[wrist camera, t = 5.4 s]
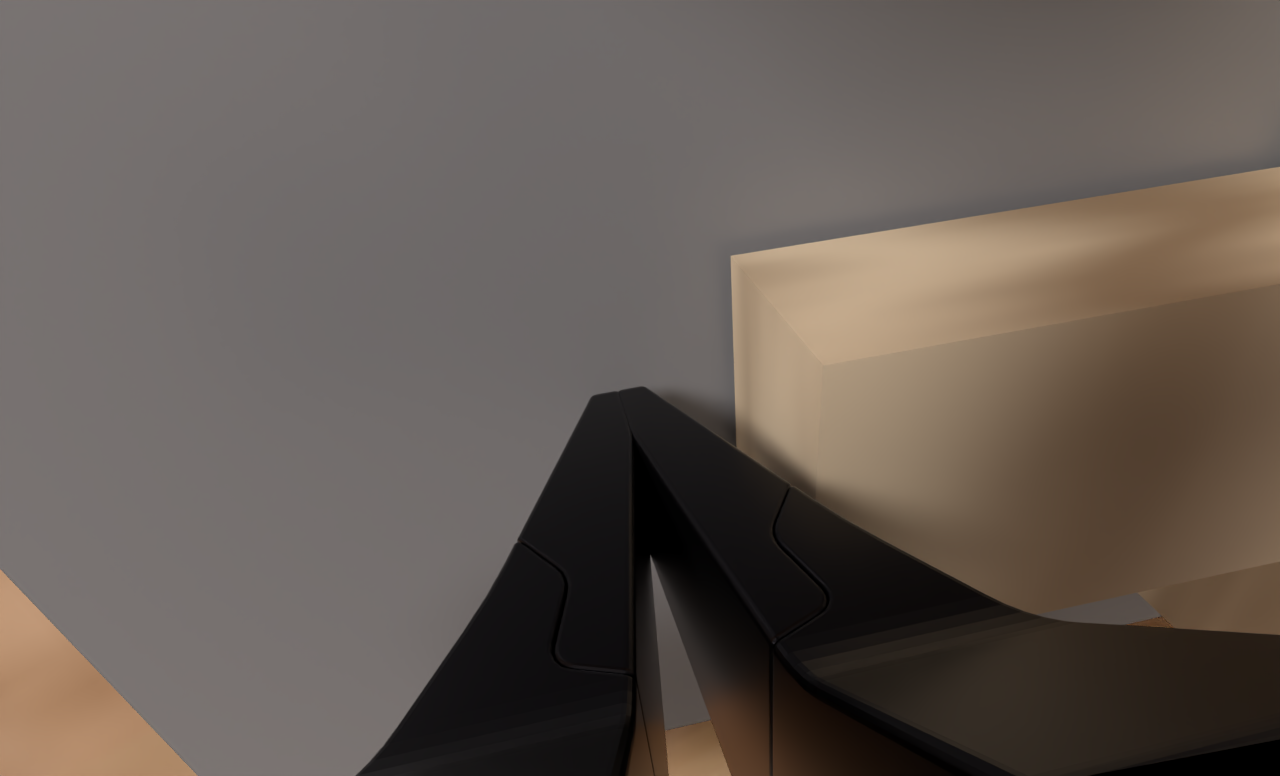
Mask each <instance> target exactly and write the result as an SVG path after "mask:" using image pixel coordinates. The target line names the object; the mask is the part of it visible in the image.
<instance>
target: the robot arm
mask: <svg viewBox="0 0 1280 776" xmlns="http://www.w3.org/2000/svg"><path fill="white" fill-rule="evenodd" d="M650 555H651V558H652V561H653V563H654V566H655V569H656V571H657V574H658V577H659V580H660V582H661V585H662V588H663V591H664V593H665V596H666V599H667V601H668V604H669V607H670V610H671V612H672V615H673V618H674V620H675V623H676V626H677V629H678V631H679V634H680V637H681V640H682V642H683V645H684V648H685V650H686V653H687V656H688V659H689V661H690V664H691V667H692V669H693V672H694V675H695V678H696V680H697V683H698V686H699V689H700V691H701V694H702V697H703V699H704V702H705V705H706V708H707V710H708V713H709V716H710V718H711V721H712V724H713V727H714V729H715V732H716V735H717V738H718V740H719V743H720V746H721V748H722V751H723V754H724V757H725V759H726V762H727V765H728V767H729V770H730V773H731V776H1280V635H1277V634H1261V633H1245V632H1228V631H1212V630H1196V629H1180V628H1163V627H1147V626H1131V625H1114V624H1098V623H1082V622H1071V621H1063V620H1057V619H1052V618H1047V617H1042V616H1039V615H1035V614H1032V613H1029V612H1025V611H1023V610H1020V609H1018V608H1015V607H1013V606H1010V605H1007V604H1005V603H1003V602H1001V601H999V600H997V599H995V598H993V597H991V596H988V595H986V594H984V593H983V592H981V591H979V590H977V589H975V588H973V587H971V586H969V585H967V584H966V583H964V582H962V581H960V580H958V579H956V578H954V577H952V576H950V575H948V574H947V573H945V572H943V571H941V570H939V569H937V568H935V567H933V566H931V565H929V564H928V563H926V562H924V561H922V560H920V559H918V558H916V557H914V556H912V555H910V554H909V553H907V552H905V551H903V550H901V549H899V548H897V547H895V546H893V545H891V544H890V543H888V542H886V541H884V540H882V539H880V538H879V537H877V536H875V535H873V534H871V533H870V532H868V531H866V530H864V529H862V528H861V527H859V526H857V525H855V524H853V523H852V522H850V521H848V520H846V519H845V518H843V517H842V516H840V515H838V514H837V513H835V512H834V511H832V510H830V509H829V508H827V507H826V506H824V505H822V504H821V503H819V502H818V501H816V500H814V499H813V498H811V497H810V496H808V495H807V494H805V493H804V492H803V491H801V490H800V489H798V488H797V487H795V486H792V487H791V484H790V483H789V482H787V481H786V480H784V479H783V478H781V477H780V476H778V475H777V474H775V473H774V472H772V471H771V470H769V469H768V468H766V467H765V466H763V465H762V464H760V463H759V462H757V461H756V460H754V459H753V458H751V457H750V456H748V455H747V454H745V453H744V452H742V451H741V450H739V449H738V448H736V447H735V446H733V445H732V444H730V443H729V442H727V441H726V440H724V439H723V438H721V437H720V436H718V435H717V434H715V433H714V432H712V431H711V430H709V429H708V428H706V427H705V426H703V425H702V424H700V423H699V422H697V421H696V420H694V419H693V418H691V417H690V416H688V415H687V414H685V413H684V412H682V411H681V410H679V409H678V408H677V407H675V406H674V405H672V404H671V403H669V402H668V401H666V400H665V399H663V398H662V397H660V396H659V395H657V394H656V393H654V392H653V391H651V390H650V389H648V388H647V387H644V386H639V387H634V388H628V389H623V390H620V391H612V392H607V393H601V394H596V395H593V396H592V397H591V398H590V400H589V402H588V404H587V406H586V407H585V409H584V411H583V413H582V415H581V417H580V419H579V421H578V423H577V425H576V427H575V429H574V431H573V433H572V435H571V436H570V438H569V440H568V442H567V444H566V446H565V448H564V450H563V452H562V454H561V456H560V458H559V460H558V462H557V464H556V465H555V467H554V469H553V471H552V473H551V475H550V477H549V479H548V481H547V483H546V485H545V487H544V489H543V491H542V493H541V494H540V496H539V498H538V500H537V502H536V504H535V506H534V508H533V510H532V512H531V514H530V516H529V518H528V520H527V522H526V523H525V525H524V527H523V529H522V531H521V533H520V535H519V537H518V539H517V543H515V544H514V546H513V548H512V550H511V552H510V554H509V556H508V558H507V560H506V562H505V564H504V565H503V567H502V569H501V571H500V573H499V574H498V576H497V578H496V580H495V581H494V583H493V585H492V587H491V589H490V590H489V592H488V594H487V596H486V597H485V599H484V600H483V602H482V603H481V605H480V606H479V608H478V609H477V611H476V612H475V614H474V615H473V617H472V619H471V620H470V622H469V623H468V625H467V626H466V628H465V629H464V631H463V632H462V634H461V635H460V637H459V638H458V640H457V641H456V643H455V644H454V645H453V647H452V648H451V650H450V651H449V653H448V654H447V656H446V657H445V658H444V660H443V661H442V663H441V664H440V666H439V667H438V669H437V670H436V671H435V673H434V674H433V676H432V677H431V679H430V680H429V682H428V683H427V684H426V686H425V687H424V689H423V690H422V692H421V693H420V695H419V696H418V697H417V699H416V700H415V702H414V703H413V705H412V706H411V708H410V709H409V710H408V712H407V713H406V715H405V716H404V718H403V719H402V721H401V722H400V723H399V725H398V726H397V728H396V729H395V730H394V732H393V733H392V734H391V736H390V737H389V738H388V740H387V741H386V743H385V744H384V745H383V746H382V748H381V749H380V750H379V751H378V752H377V753H376V755H375V756H374V757H373V758H372V759H371V760H370V761H369V763H368V764H367V765H366V766H365V767H364V768H363V769H362V770H361V771H360V772H358V773H357V774H356V775H355V776H669V774H668V762H667V750H666V738H665V726H664V714H663V702H662V690H661V678H660V666H659V654H658V642H657V630H656V618H655V606H654V594H653V582H652V570H651V558H650Z"/></svg>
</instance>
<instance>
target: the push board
mask: <svg viewBox="0 0 1280 776" xmlns="http://www.w3.org/2000/svg"><path fill="white" fill-rule="evenodd" d="M1276 167H1280V0H0V569H1V570H2V571H3V572H4V573H5V574H6V575H7V577H8V578H9V579H10V580H11V581H12V582H13V583H14V584H15V585H16V586H17V587H18V588H19V589H20V590H21V591H22V592H23V593H24V594H25V595H26V596H27V597H28V598H29V600H30V601H31V602H32V603H33V604H34V605H35V606H36V607H37V608H38V609H39V610H40V611H41V612H42V613H43V614H44V615H45V616H46V617H47V618H48V619H49V620H50V622H51V623H52V624H53V625H54V626H55V627H56V628H57V629H58V630H59V631H60V632H61V633H62V634H63V635H64V636H65V637H66V638H67V639H68V640H69V641H70V642H71V643H72V645H73V646H74V647H75V648H76V649H77V650H78V651H79V652H80V653H81V654H82V655H83V656H84V657H85V658H86V659H87V660H88V661H89V662H90V663H91V664H92V665H93V666H94V668H95V669H96V670H97V671H98V672H99V673H100V674H101V675H102V676H103V677H104V678H105V679H106V680H107V681H108V682H109V683H110V684H111V685H112V686H113V687H114V688H115V690H116V691H117V692H118V693H119V694H120V695H121V696H122V697H123V698H124V699H125V700H126V701H127V702H128V703H129V704H130V705H131V706H132V707H133V708H134V709H135V710H136V711H137V713H138V714H139V715H140V716H141V717H142V718H143V719H144V720H145V721H146V722H147V723H148V724H149V725H150V726H151V727H152V728H153V729H154V730H155V731H156V732H157V733H158V735H159V736H160V737H161V738H162V739H163V740H164V741H165V742H166V743H167V744H168V745H169V746H170V747H171V748H172V749H173V750H174V751H175V752H176V753H177V754H178V755H179V756H180V758H181V759H182V760H183V761H184V762H185V763H186V764H187V765H188V766H189V767H190V768H191V769H192V770H193V771H194V772H195V773H196V774H197V775H198V776H355V775H356V774H357V773H358V772H360V771H361V770H362V769H363V768H364V767H365V766H366V765H367V764H368V763H369V761H370V760H371V759H372V758H373V757H374V756H375V755H376V753H377V752H378V751H379V750H380V749H381V748H382V746H383V745H384V744H385V743H386V741H387V740H388V738H389V737H390V736H391V734H392V733H393V732H394V730H395V729H396V728H397V726H398V725H399V723H400V722H401V721H402V719H403V718H404V716H405V715H406V713H407V712H408V710H409V709H410V708H411V706H412V705H413V703H414V702H415V700H416V699H417V697H418V696H419V695H420V693H421V692H422V690H423V689H424V687H425V686H426V684H427V683H428V682H429V680H430V679H431V677H432V676H433V674H434V673H435V671H436V670H437V669H438V667H439V666H440V664H441V663H442V661H443V660H444V658H445V657H446V656H447V654H448V653H449V651H450V650H451V648H452V647H453V645H454V644H455V643H456V641H457V640H458V638H459V637H460V635H461V634H462V632H463V631H464V629H465V628H466V626H467V625H468V623H469V622H470V620H471V619H472V617H473V615H474V614H475V612H476V611H477V609H478V608H479V606H480V605H481V603H482V602H483V600H484V599H485V597H486V596H487V594H488V592H489V590H490V589H491V587H492V585H493V583H494V581H495V580H496V578H497V576H498V574H499V573H500V571H501V569H502V567H503V565H504V564H505V562H506V560H507V558H508V556H509V554H510V552H511V550H512V548H513V546H514V544H515V543H517V539H518V537H519V535H520V533H521V531H522V529H523V527H524V525H525V523H526V522H527V520H528V518H529V516H530V514H531V512H532V510H533V508H534V506H535V504H536V502H537V500H538V498H539V496H540V494H541V493H542V491H543V489H544V487H545V485H546V483H547V481H548V479H549V477H550V475H551V473H552V471H553V469H554V467H555V465H556V464H557V462H558V460H559V458H560V456H561V454H562V452H563V450H564V448H565V446H566V444H567V442H568V440H569V438H570V436H571V435H572V433H573V431H574V429H575V427H576V425H577V423H578V421H579V419H580V417H581V415H582V413H583V411H584V409H585V407H586V406H587V404H588V402H589V400H590V398H591V397H592V396H593V395H596V394H601V393H607V392H612V391H620V390H623V389H628V388H634V387H639V386H644V387H647V388H648V389H650V390H651V391H653V392H654V393H656V394H657V395H659V396H660V397H662V398H663V399H665V400H666V401H668V402H669V403H671V404H672V405H674V406H675V407H677V408H678V409H679V410H681V411H682V412H684V413H685V414H687V415H688V416H690V417H691V418H693V419H694V420H696V421H697V422H699V423H700V424H702V425H703V426H705V427H706V428H708V429H709V430H711V431H712V432H714V433H715V434H717V435H718V436H720V437H721V438H723V439H724V440H726V441H727V442H729V443H730V444H732V445H733V446H735V447H736V416H735V384H734V352H733V319H732V287H731V256H732V255H739V254H745V253H751V252H757V251H763V250H769V249H776V248H782V247H788V246H794V245H800V244H806V243H813V242H819V241H825V240H831V239H837V238H843V237H850V236H856V235H862V234H868V233H874V232H880V231H887V230H893V229H899V228H905V227H911V226H918V225H924V224H930V223H936V222H942V221H948V220H955V219H961V218H967V217H973V216H979V215H985V214H992V213H998V212H1004V211H1010V210H1016V209H1022V208H1029V207H1035V206H1041V205H1047V204H1053V203H1060V202H1066V201H1072V200H1078V199H1084V198H1090V197H1097V196H1103V195H1109V194H1115V193H1121V192H1127V191H1134V190H1140V189H1146V188H1152V187H1158V186H1164V185H1171V184H1177V183H1183V182H1189V181H1195V180H1201V179H1208V178H1214V177H1220V176H1226V175H1232V174H1239V173H1245V172H1251V171H1257V170H1263V169H1269V168H1276ZM650 558H651V555H650ZM651 570H652V582H653V594H654V606H655V618H656V630H657V642H658V654H659V666H660V678H661V690H662V702H663V714H664V726H665V730H670V729H674V728H678V727H683V726H687V725H691V724H696V723H700V722H704V721H709V720H711V718H710V716H709V713H708V710H707V708H706V705H705V702H704V699H703V697H702V694H701V691H700V689H699V686H698V683H697V680H696V678H695V675H694V672H693V669H692V667H691V664H690V661H689V659H688V656H687V653H686V650H685V648H684V645H683V642H682V640H681V637H680V634H679V631H678V629H677V626H676V623H675V620H674V618H673V615H672V612H671V610H670V607H669V604H668V601H667V599H666V596H665V593H664V591H663V588H662V585H661V582H660V580H659V577H658V574H657V571H656V569H655V566H654V563H653V561H652V558H651ZM1037 615H1039V616H1042V617H1047V618H1052V619H1057V620H1063V621H1071V622H1082V623H1098V624H1114V625H1126V624H1131V623H1135V622H1139V621H1144V620H1148V619H1152V618H1157V617H1161V615H1160V614H1159V613H1158V612H1157V611H1156V610H1155V609H1154V608H1153V607H1152V606H1151V605H1150V604H1149V603H1148V602H1147V601H1146V600H1145V599H1143V598H1142V597H1141V596H1140V595H1139V594H1138V593H1133V594H1129V595H1124V596H1119V597H1115V598H1110V599H1106V600H1101V601H1096V602H1092V603H1087V604H1083V605H1078V606H1074V607H1069V608H1064V609H1060V610H1055V611H1051V612H1046V613H1041V614H1037Z"/></svg>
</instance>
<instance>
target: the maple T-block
mask: <svg viewBox="0 0 1280 776" xmlns="http://www.w3.org/2000/svg"><path fill="white" fill-rule="evenodd" d="M731 287H732V319H733V352H734V384H735V416H736V448H738V449H739V450H741V451H742V452H744V453H745V454H747V455H748V456H750V457H751V458H753V459H754V460H756V461H757V462H759V463H760V464H762V465H763V466H765V467H766V468H768V469H769V470H771V471H772V472H774V473H775V474H777V475H778V476H780V477H781V478H783V479H784V480H786V481H787V482H789V483H790V484H791V487H792V486H795V487H797V488H798V489H800V490H801V491H803V492H804V493H805V494H807V495H808V496H810V497H811V498H813V499H814V500H816V501H818V502H819V503H821V504H822V505H824V506H826V507H827V508H829V509H830V510H832V511H834V512H835V513H837V514H838V515H840V516H842V517H843V518H845V519H846V520H848V521H850V522H852V523H853V524H855V525H857V526H859V527H861V528H862V529H864V530H866V531H868V532H870V533H871V534H873V535H875V536H877V537H879V538H880V539H882V540H884V541H886V542H888V543H890V544H891V545H893V546H895V547H897V548H899V549H901V550H903V551H905V552H907V553H909V554H910V555H912V556H914V557H916V558H918V559H920V560H922V561H924V562H926V563H928V564H929V565H931V566H933V567H935V568H937V569H939V570H941V571H943V572H945V573H947V574H948V575H950V576H952V577H954V578H956V579H958V580H960V581H962V582H964V583H966V584H967V585H969V586H971V587H973V588H975V589H977V590H979V591H981V592H983V593H984V594H986V595H988V596H991V597H993V598H995V599H997V600H999V601H1001V602H1003V603H1005V604H1007V605H1010V606H1013V607H1015V608H1018V609H1020V610H1023V611H1025V612H1029V613H1032V614H1035V615H1037V614H1041V613H1046V612H1051V611H1055V610H1060V609H1064V608H1069V607H1074V606H1078V605H1083V604H1087V603H1092V602H1096V601H1101V600H1106V599H1110V598H1115V597H1119V596H1124V595H1129V594H1133V593H1138V594H1139V595H1140V596H1141V597H1142V598H1143V599H1145V600H1146V601H1147V602H1148V603H1149V604H1150V605H1151V606H1152V607H1153V608H1154V609H1155V610H1156V611H1157V612H1158V613H1159V614H1160V615H1161V616H1162V617H1163V618H1165V619H1166V620H1167V621H1168V622H1169V623H1170V624H1171V625H1172V626H1173V627H1174V628H1180V629H1196V630H1212V631H1228V632H1245V633H1261V634H1277V635H1280V167H1276V168H1269V169H1263V170H1257V171H1251V172H1245V173H1239V174H1232V175H1226V176H1220V177H1214V178H1208V179H1201V180H1195V181H1189V182H1183V183H1177V184H1171V185H1164V186H1158V187H1152V188H1146V189H1140V190H1134V191H1127V192H1121V193H1115V194H1109V195H1103V196H1097V197H1090V198H1084V199H1078V200H1072V201H1066V202H1060V203H1053V204H1047V205H1041V206H1035V207H1029V208H1022V209H1016V210H1010V211H1004V212H998V213H992V214H985V215H979V216H973V217H967V218H961V219H955V220H948V221H942V222H936V223H930V224H924V225H918V226H911V227H905V228H899V229H893V230H887V231H880V232H874V233H868V234H862V235H856V236H850V237H843V238H837V239H831V240H825V241H819V242H813V243H806V244H800V245H794V246H788V247H782V248H776V249H769V250H763V251H757V252H751V253H745V254H739V255H732V256H731Z"/></svg>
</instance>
